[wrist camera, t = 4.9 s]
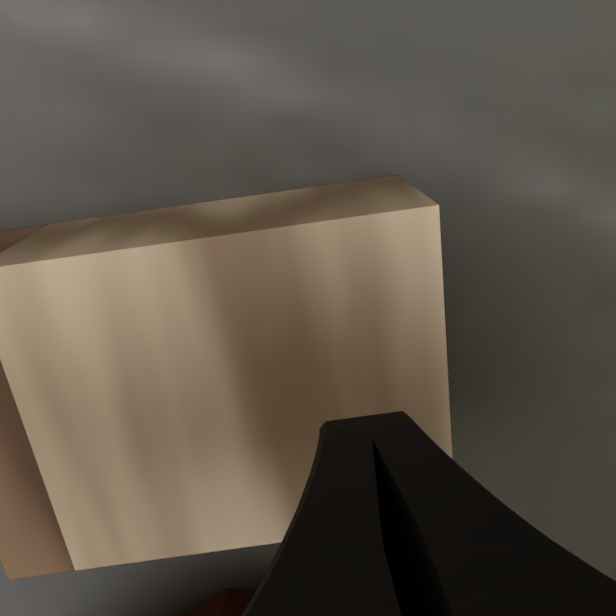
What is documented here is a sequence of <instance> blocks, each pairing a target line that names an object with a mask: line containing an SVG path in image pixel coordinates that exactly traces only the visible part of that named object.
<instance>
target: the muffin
mask: <svg viewBox="0 0 616 616" xmlns="http://www.w3.org/2000/svg"><path fill="white" fill-rule="evenodd" d="M255 592H256V591H247V590H238V589H230V588H226V589H224V590H223V591H221V592H219V593H218V594H216V595H214V596H213V597H211V598H209V599H208V600H206V601H205V602H203V603H201V604H200V605H198V606H196V607H195V608H193V609H191V610H188V611H186V612H183V613H181V614H178V615H176V616H242V614H243V613H244V611H245V609H246V608H247V606H248V604H249V603H250V601H251V599H252V597H253V596H254V594H255Z"/></svg>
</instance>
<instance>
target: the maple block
mask: <svg viewBox="0 0 616 616" xmlns="http://www.w3.org/2000/svg"><path fill="white" fill-rule="evenodd" d="M397 411H404V412H405V413H406V414H407V415H409V416H410V417H411V418H412V419H413V420H414V421H415V422H416V423H417V425H418V426H419V427H420V428H421V429H422V430H423V431H424V432H425V433H426V434H427V435H428V436H429V437H430V438H431V439H432V440H433V441H434V442H435V443H436V444H437V445H438V446H439V447H440V448H441V449H442V450H443V451H444V452H445V453H446V454H447V455H448V456H449V457H451V458H452V441H451V422H450V403H449V385H448V366H447V347H446V328H445V309H444V290H443V271H442V252H441V233H440V214H439V205H438V204H437V203H436V202H434V201H433V200H432V199H430V198H429V197H427V196H426V195H425V194H423V193H422V192H421V191H419V190H418V189H417V188H415V187H414V186H412V185H411V184H410V183H408V182H407V181H406V180H404V179H403V178H401V177H400V176H399V175H394V176H387V177H380V178H373V179H366V180H359V181H352V182H345V183H338V184H330V185H323V186H316V187H309V188H302V189H295V190H288V191H281V192H274V193H267V194H259V195H252V196H245V197H238V198H231V199H224V200H217V201H210V202H203V203H195V204H188V205H181V206H174V207H167V208H160V209H153V210H146V211H139V212H132V213H124V214H117V215H110V216H103V217H96V218H89V219H82V220H75V221H68V222H60V223H53V224H46V225H39V226H32V227H25V228H18V229H11V230H4V231H0V560H1V563H2V565H3V568H4V570H5V572H6V575H7V577H8V580H10V579H17V578H24V577H32V576H39V575H46V574H54V573H61V572H68V571H75V570H83V569H90V568H97V567H105V566H112V565H119V564H127V563H134V562H141V561H149V560H156V559H163V558H170V557H178V556H185V555H192V554H200V553H207V552H214V551H222V550H229V549H236V548H243V547H251V546H258V545H265V544H273V543H280V542H282V540H283V538H284V536H285V534H286V531H287V529H288V527H289V525H290V523H291V521H292V518H293V516H294V514H295V512H296V509H297V507H298V504H299V501H300V499H301V496H302V493H303V491H304V488H305V485H306V482H307V480H308V477H309V474H310V471H311V468H312V464H313V461H314V458H315V454H316V450H317V445H318V440H319V428H320V427H321V426H322V425H323V424H324V423H325V422H326V421H331V420H338V419H346V418H353V417H361V416H368V415H375V414H383V413H390V412H397Z"/></svg>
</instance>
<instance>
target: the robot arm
mask: <svg viewBox="0 0 616 616" xmlns="http://www.w3.org/2000/svg"><path fill="white" fill-rule="evenodd" d="M242 616H616V581H614V580H613V579H611V578H609V577H608V576H606V575H604V574H603V573H601V572H599V571H598V570H596V569H595V568H593V567H592V566H590V565H589V564H587V563H586V562H584V561H583V560H581V559H580V558H578V557H576V556H575V555H573V554H572V553H570V552H569V551H567V550H566V549H564V548H563V547H561V546H560V545H558V544H557V543H555V542H554V541H552V540H551V539H549V538H548V537H547V536H545V535H544V534H543V533H541V532H540V531H538V530H537V529H536V528H534V527H533V526H532V525H530V524H529V523H528V522H527V521H525V520H524V519H523V518H521V517H520V516H519V515H517V514H516V513H515V512H514V511H512V510H511V509H510V508H508V507H507V506H506V505H505V504H503V503H502V502H501V501H500V500H499V499H497V498H496V497H495V496H494V495H492V494H491V493H490V492H489V491H488V490H486V489H485V488H484V487H483V486H482V485H481V484H480V483H479V482H477V481H476V480H475V479H474V478H473V477H472V476H471V475H469V474H468V473H467V472H466V471H465V470H464V469H463V468H461V467H460V466H459V465H458V464H457V463H456V462H455V461H454V460H453V459H452V458H451V457H449V456H448V455H447V454H446V453H445V452H444V451H443V450H442V449H441V448H440V447H439V446H438V445H437V444H436V443H435V442H434V441H433V440H432V439H431V438H430V437H429V436H428V435H427V434H426V433H425V432H424V431H423V430H422V429H421V428H420V427H419V426H418V425H417V423H416V422H415V421H414V420H413V419H412V418H411V417H410V416H409V415H407V414H406V413H405V412H404V411H397V412H390V413H383V414H375V415H368V416H361V417H353V418H346V419H338V420H331V421H326V422H325V423H324V424H323V425H322V426H321V427H320V428H319V440H318V445H317V450H316V454H315V458H314V461H313V464H312V468H311V471H310V474H309V477H308V480H307V482H306V485H305V488H304V491H303V493H302V496H301V499H300V501H299V504H298V507H297V509H296V512H295V514H294V516H293V518H292V521H291V523H290V525H289V527H288V529H287V531H286V534H285V536H284V538H283V540H282V542H281V544H280V547H279V549H278V551H277V553H276V555H275V557H274V559H273V561H272V563H271V565H270V567H269V569H268V571H267V573H266V574H265V576H264V578H263V580H262V582H261V584H260V585H259V587H258V589H257V591H256V592H255V594H254V596H253V597H252V599H251V601H250V603H249V604H248V606H247V608H246V609H245V611H244V613H243V614H242Z"/></svg>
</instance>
